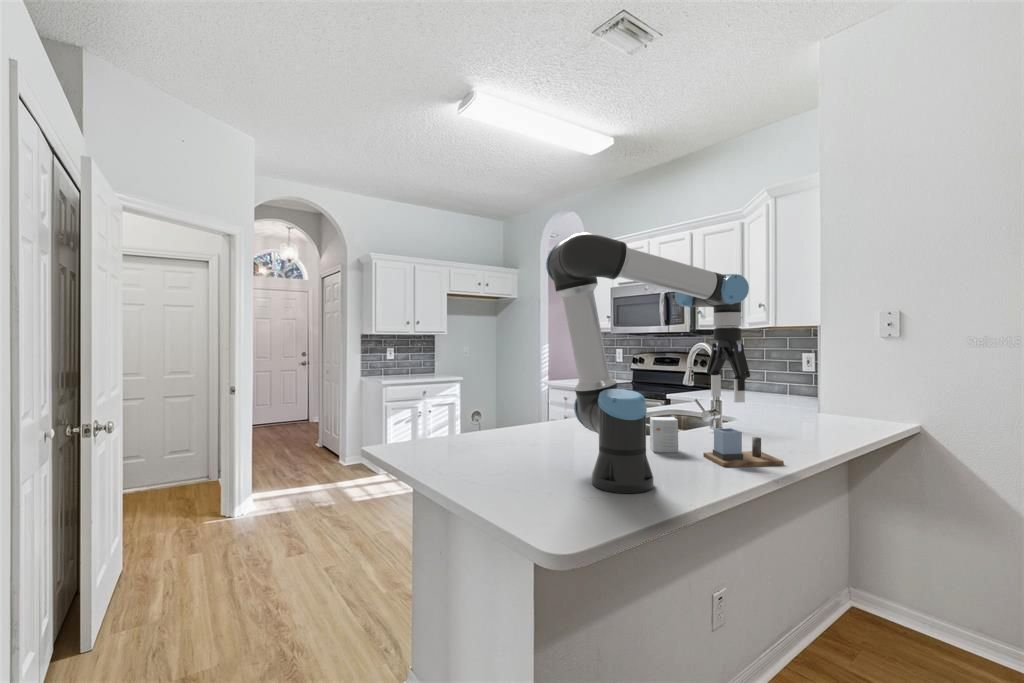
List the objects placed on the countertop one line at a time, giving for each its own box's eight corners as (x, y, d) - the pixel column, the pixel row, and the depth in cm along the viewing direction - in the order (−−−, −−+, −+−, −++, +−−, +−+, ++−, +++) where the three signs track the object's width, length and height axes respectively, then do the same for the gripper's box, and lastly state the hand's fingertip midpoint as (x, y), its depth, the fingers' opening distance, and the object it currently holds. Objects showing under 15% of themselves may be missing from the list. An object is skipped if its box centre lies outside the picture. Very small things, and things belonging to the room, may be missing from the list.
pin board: (722, 466, 140) (722, 443, 140) (703, 456, 152) (703, 434, 152) (783, 465, 141) (783, 441, 141) (759, 454, 153) (759, 433, 153)
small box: (674, 448, 163) (674, 416, 162) (678, 452, 157) (678, 419, 157) (649, 448, 163) (649, 416, 163) (652, 452, 158) (652, 419, 158)
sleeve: (743, 459, 143) (743, 432, 143) (722, 460, 143) (722, 432, 143) (732, 454, 149) (732, 427, 149) (712, 454, 149) (712, 428, 149)
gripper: (764, 326, 133) (763, 404, 134) (718, 327, 158) (718, 393, 159) (737, 326, 133) (737, 405, 133) (696, 327, 158) (696, 394, 158)
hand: (727, 399), depth 146 cm, fingers open, 13 cm apart
